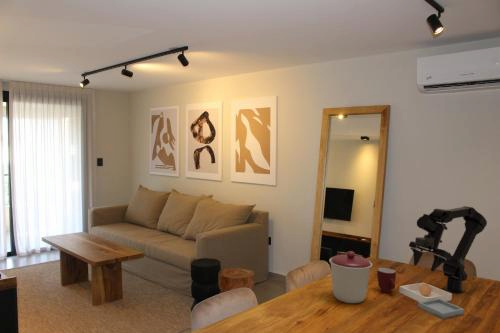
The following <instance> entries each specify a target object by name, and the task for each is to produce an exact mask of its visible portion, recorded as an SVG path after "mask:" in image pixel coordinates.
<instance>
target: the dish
mask: <svg viewBox="0 0 500 333" xmlns="http://www.w3.org/2000/svg"><path fill="white" fill-rule="evenodd" d="M422 284H427V285H429V286H430V287H431V293H430V294H429V295H427V296H425V295H422V294H421V293H420V291H419V287H420V286H421V285H422ZM398 292H399V294H401V295H404V296H406V297H408V298H410V299H412V300H414V301H417V302H422V301H427V300H433V299H438V298H439V299H441V300H444V301H446V302H449V301H452V299H453V298H452V297H453V294H452V292H450V291H446V290H445V289H444V290H443V289H441V288H439V287H437V286H434V285H430V284H428V283H425V282H420V283H419V282H418V283H412V284H406V285H399V291H398Z"/></svg>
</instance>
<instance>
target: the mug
mask: <svg viewBox="0 0 500 333" xmlns="http://www.w3.org/2000/svg"><path fill="white" fill-rule="evenodd" d="M376 271H377V274H376V276H377V282H378V288H379V289H380V291H381V293H384V294H390V293H391V292H392V291H393V290H395V288H396V283H395V282H396V278H397V271H396V270H395V269H393V268H388V267H379V268H377V270H376Z"/></svg>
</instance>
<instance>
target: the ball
mask: <svg viewBox="0 0 500 333" xmlns="http://www.w3.org/2000/svg"><path fill="white" fill-rule="evenodd" d="M427 284H428V283H426V284H422V285H421V286H420V287H419V291H420V293H421V294H422V295H425V296H427V295H429V294H430V293H431V287H430V286H429V285H430V284H429V285H427Z"/></svg>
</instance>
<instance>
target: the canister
mask: <svg viewBox="0 0 500 333" xmlns="http://www.w3.org/2000/svg"><path fill="white" fill-rule="evenodd" d="M329 263H330V269H331V270H330V271H331V284H332V285H331V286H332V287H331V288H332V293H333V295H334V297H335V299H336V300H338V301H340V302H342V303H343V302H344V303H346V304H359V303H362V302H363V301H364V300H365V298H366V296H367V292H368V287H369V286H368V285H369V279H370V274H371V268H372V267H373V263H372V262H371V261H370V260H369V259H367V258H366V257H363V256H359V255H356V253H355V252H354V251H352V250H349V251H347V252H346V254H338V255H334V256H332V257H330V258H329Z"/></svg>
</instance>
